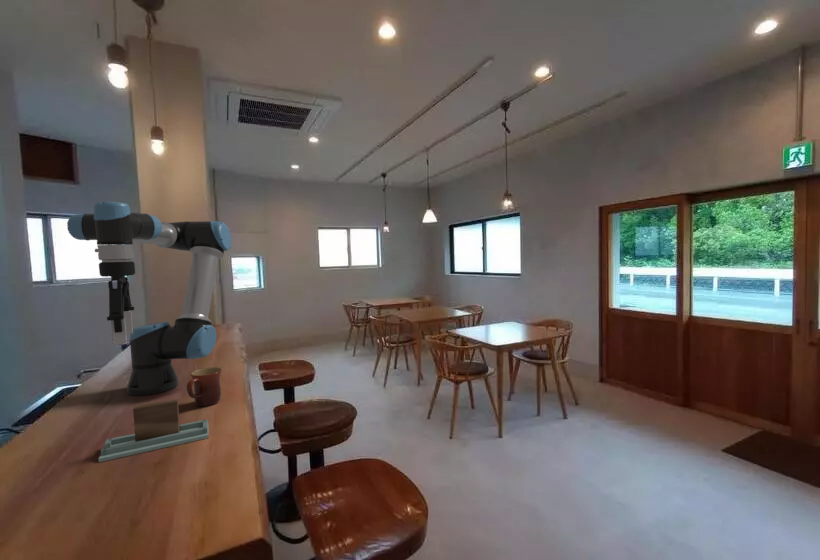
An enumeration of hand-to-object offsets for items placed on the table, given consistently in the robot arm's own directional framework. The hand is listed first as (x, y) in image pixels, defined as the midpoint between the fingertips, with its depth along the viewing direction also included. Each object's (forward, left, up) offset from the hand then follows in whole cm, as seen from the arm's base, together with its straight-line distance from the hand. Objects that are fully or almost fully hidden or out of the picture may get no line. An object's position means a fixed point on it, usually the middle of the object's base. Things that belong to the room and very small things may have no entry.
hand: (123, 338), depth 101 cm
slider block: (+15, +8, -24) cm, 29 cm away
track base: (+15, +8, -25) cm, 30 cm away
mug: (-6, +18, -25) cm, 31 cm away
